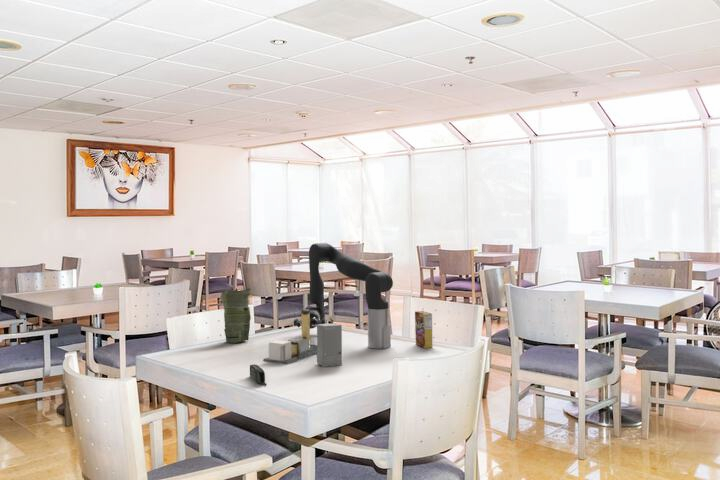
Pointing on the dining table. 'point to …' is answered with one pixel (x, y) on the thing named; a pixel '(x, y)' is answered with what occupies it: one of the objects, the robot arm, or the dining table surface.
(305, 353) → the grey base with blocks
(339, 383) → the dining table surface
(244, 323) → the pouch
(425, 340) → the candy box
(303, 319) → the yellow angular piece
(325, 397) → the dining table surface
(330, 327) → the skincare box
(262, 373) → the mobile phone
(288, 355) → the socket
